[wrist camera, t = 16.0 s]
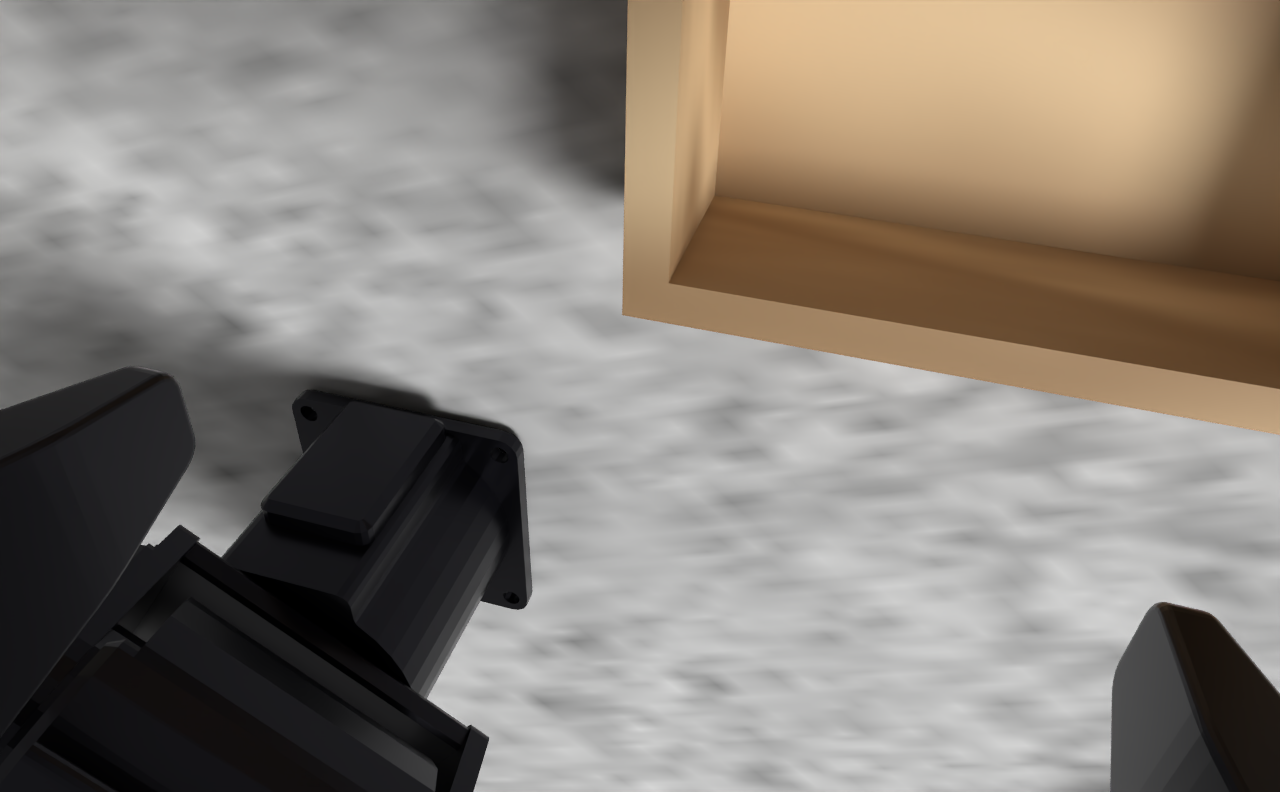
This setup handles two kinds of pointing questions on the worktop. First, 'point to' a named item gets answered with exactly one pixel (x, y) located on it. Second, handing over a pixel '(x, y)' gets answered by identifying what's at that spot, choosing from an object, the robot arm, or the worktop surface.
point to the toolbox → (969, 189)
